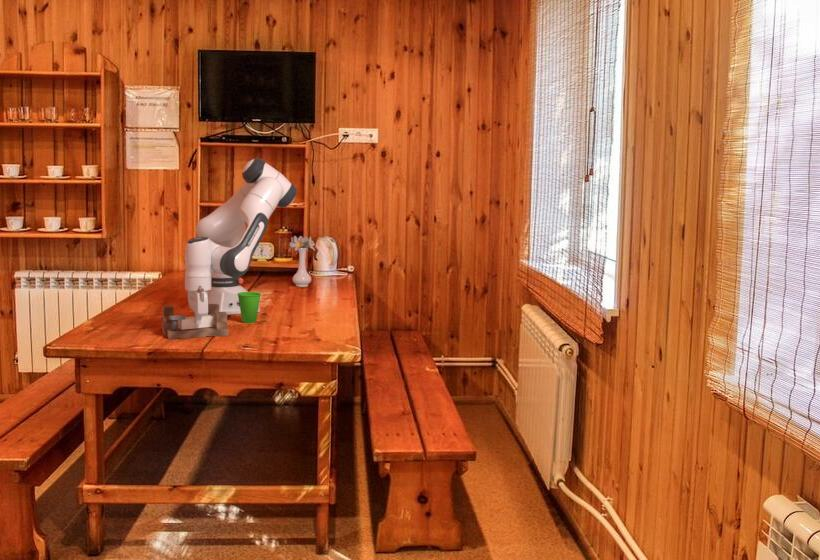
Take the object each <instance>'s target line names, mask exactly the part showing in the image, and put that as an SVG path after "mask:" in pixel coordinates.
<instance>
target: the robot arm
mask: <svg viewBox="0 0 820 560" xmlns="http://www.w3.org/2000/svg"><path fill="white" fill-rule="evenodd" d="M241 174H242V175H241V178H242V179H243V180H244V181H245V183H243V185H241V187H239V189H238V190H237V191H236V192H235V193H234V194H233V195H232V196H231V197H230V198H229V199H228V200H226V201H225V202H224V203H222V204H221V205H220V206H219V207H217V208H215V210H214V211H212V212H211V213H209V214H208V215H206V216H205V217H203V218H201V219H199V221H197V224H196V228H195V231H196V235H197V237H192V238H190V239H188V241H187V242H186V245H185V248H184V249H185V250H184V266H185V273H184V290H185V291H187V302H188V306H189V308H190V309H191V310H192V311H193V314H194V316H195V323H196V324H197V325H201V319H202V316H205V315H208V304H218V305H219V312H226V313H227V316H228V315H229V316H230V315H241V311H240V304H239V298H238V295H237V294H238V293H240V292H249V291H248V290H247V289H246V288H245V287H243V286H241V284H243V283H244V279H243V278H242V277H243V276H244V275H245V274H246V273H247V272H248V270H249V268H250V266H251V261H252V259H253V255H254V254H255V252H256V250H257V248H258V246H259V244H260V242H261V241H262V238H263V237H264V235H265V233H266V231H267V228H268V226H269V219H270V217H271V216H272V215H273V212H274V211H275V210H276V208H277V207H278V208H281V209H282V208H284V209H285V208H286V207H289V206H290V205H291V204H293V202H294V200H295V199H296V196H297V195H298V189H297V187H296V186H295V184H294V183H292V182H290V180H289V179H287V177H285V175H284V174H283V173H281V172H280V171H278V170H277V169H276V168H274V167H273V166H272V165H270V164H268V163H267V162H266V161H265V160H264V159H262V158H260V157H254V158H252V159H251V160H249V161H247V163H246V164H245V166H244V167H243V170H242V171H241ZM259 312H261V307H260V306H259V307H258V313H259Z"/></svg>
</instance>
